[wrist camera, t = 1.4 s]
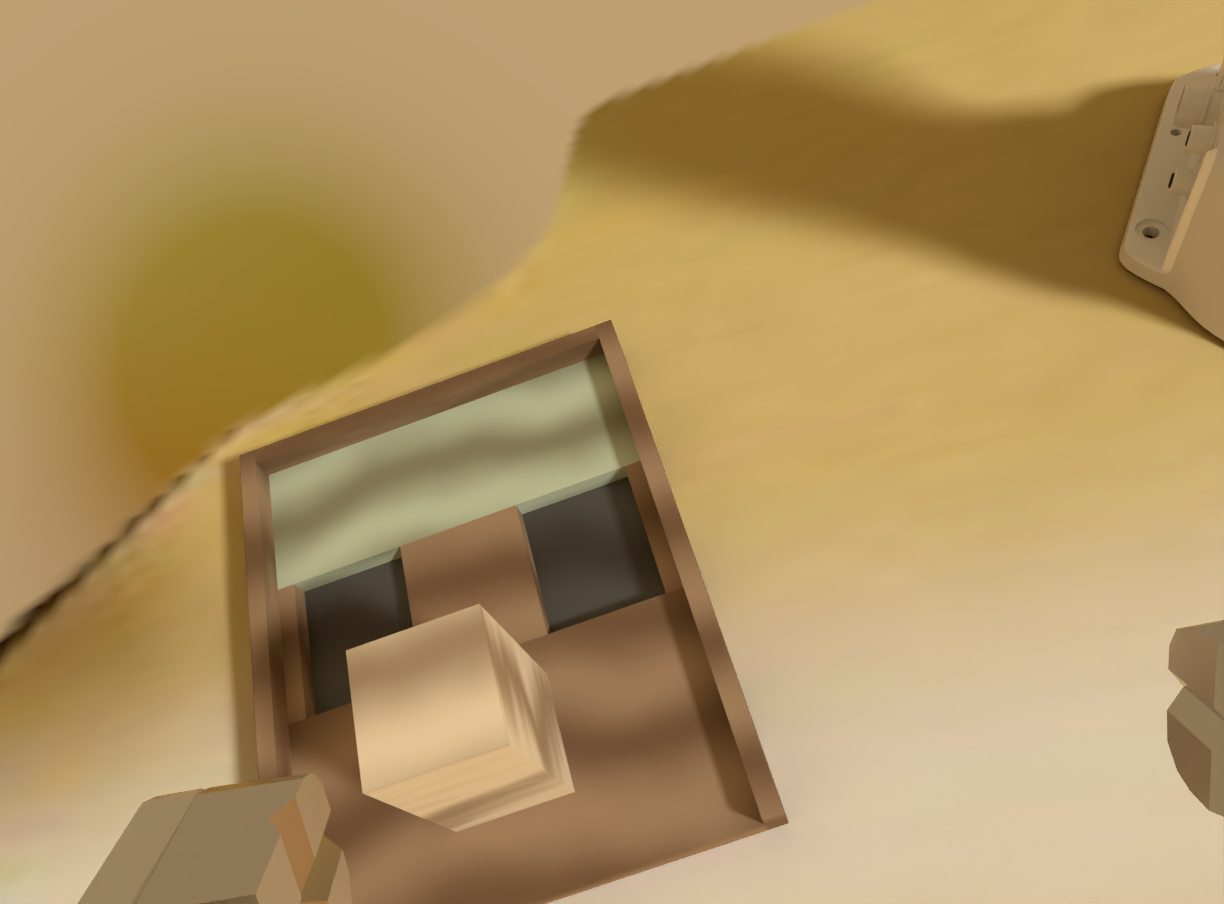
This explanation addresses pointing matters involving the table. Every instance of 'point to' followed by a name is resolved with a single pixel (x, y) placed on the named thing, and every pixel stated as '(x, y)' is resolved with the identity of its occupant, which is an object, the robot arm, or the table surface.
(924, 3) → the table surface
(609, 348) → the tray
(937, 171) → the table surface
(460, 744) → the maple block
